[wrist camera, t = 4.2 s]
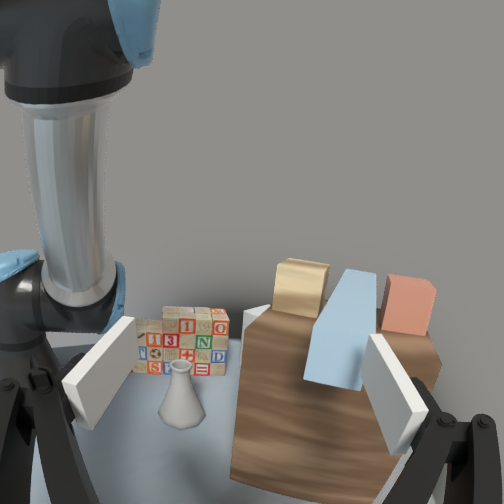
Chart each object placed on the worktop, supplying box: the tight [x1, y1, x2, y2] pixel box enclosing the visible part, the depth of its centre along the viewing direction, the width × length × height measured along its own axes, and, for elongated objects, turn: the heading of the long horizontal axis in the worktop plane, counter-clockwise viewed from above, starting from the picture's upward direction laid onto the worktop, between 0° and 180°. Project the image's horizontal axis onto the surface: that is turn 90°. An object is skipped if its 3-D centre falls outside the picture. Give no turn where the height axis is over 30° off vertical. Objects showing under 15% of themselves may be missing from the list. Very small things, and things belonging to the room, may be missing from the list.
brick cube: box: [380, 274, 436, 336], centre depth 30 cm, size 5×5×5 cm
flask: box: [158, 359, 206, 430], centre depth 42 cm, size 7×7×10 cm
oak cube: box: [272, 258, 330, 319], centre depth 34 cm, size 5×5×5 cm
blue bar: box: [303, 269, 376, 391], centre depth 28 cm, size 22×4×4 cm, turn 157°
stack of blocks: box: [131, 306, 229, 376], centre depth 56 cm, size 21×6×12 cm, turn 104°
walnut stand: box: [230, 300, 442, 504], centre depth 32 cm, size 14×18×22 cm
